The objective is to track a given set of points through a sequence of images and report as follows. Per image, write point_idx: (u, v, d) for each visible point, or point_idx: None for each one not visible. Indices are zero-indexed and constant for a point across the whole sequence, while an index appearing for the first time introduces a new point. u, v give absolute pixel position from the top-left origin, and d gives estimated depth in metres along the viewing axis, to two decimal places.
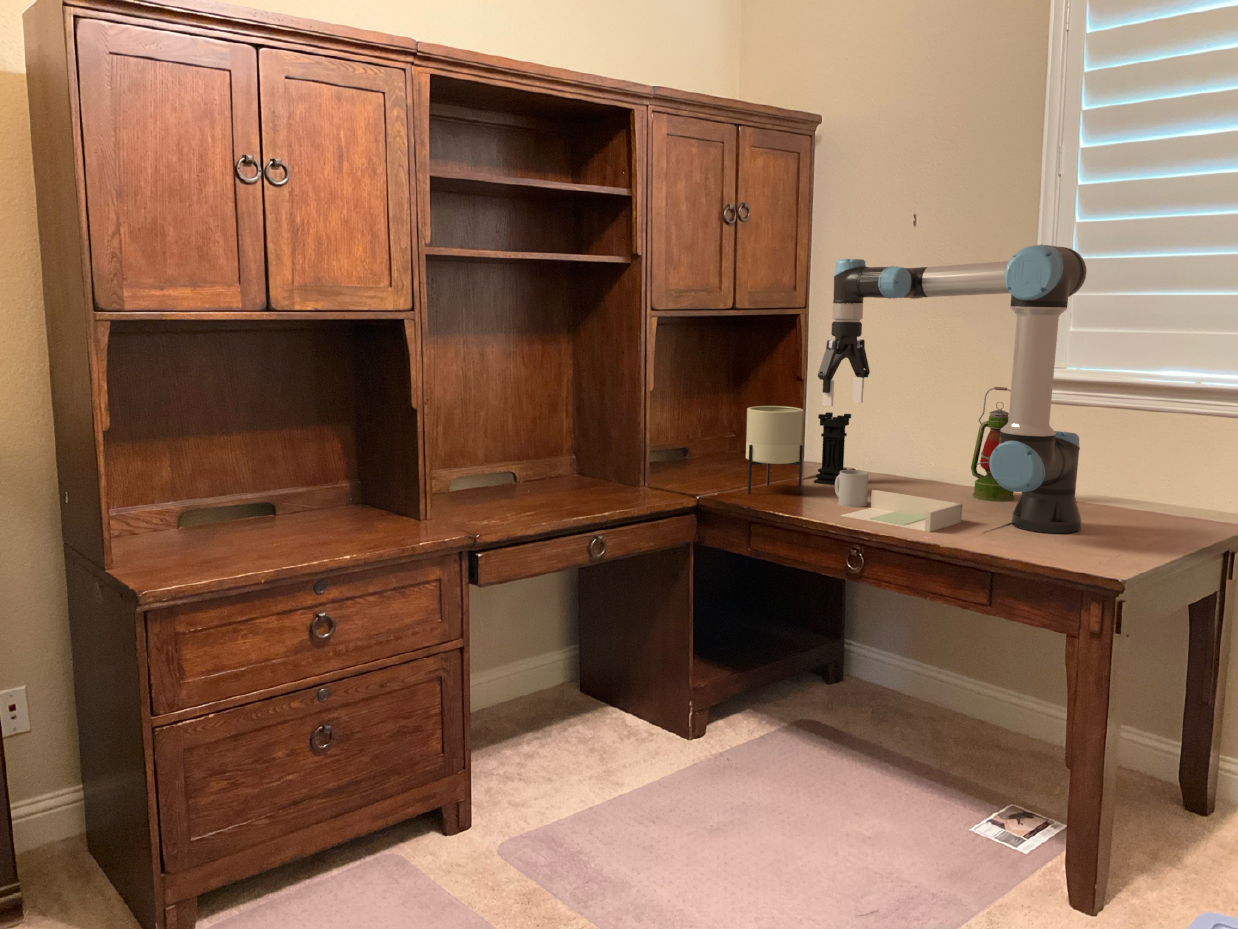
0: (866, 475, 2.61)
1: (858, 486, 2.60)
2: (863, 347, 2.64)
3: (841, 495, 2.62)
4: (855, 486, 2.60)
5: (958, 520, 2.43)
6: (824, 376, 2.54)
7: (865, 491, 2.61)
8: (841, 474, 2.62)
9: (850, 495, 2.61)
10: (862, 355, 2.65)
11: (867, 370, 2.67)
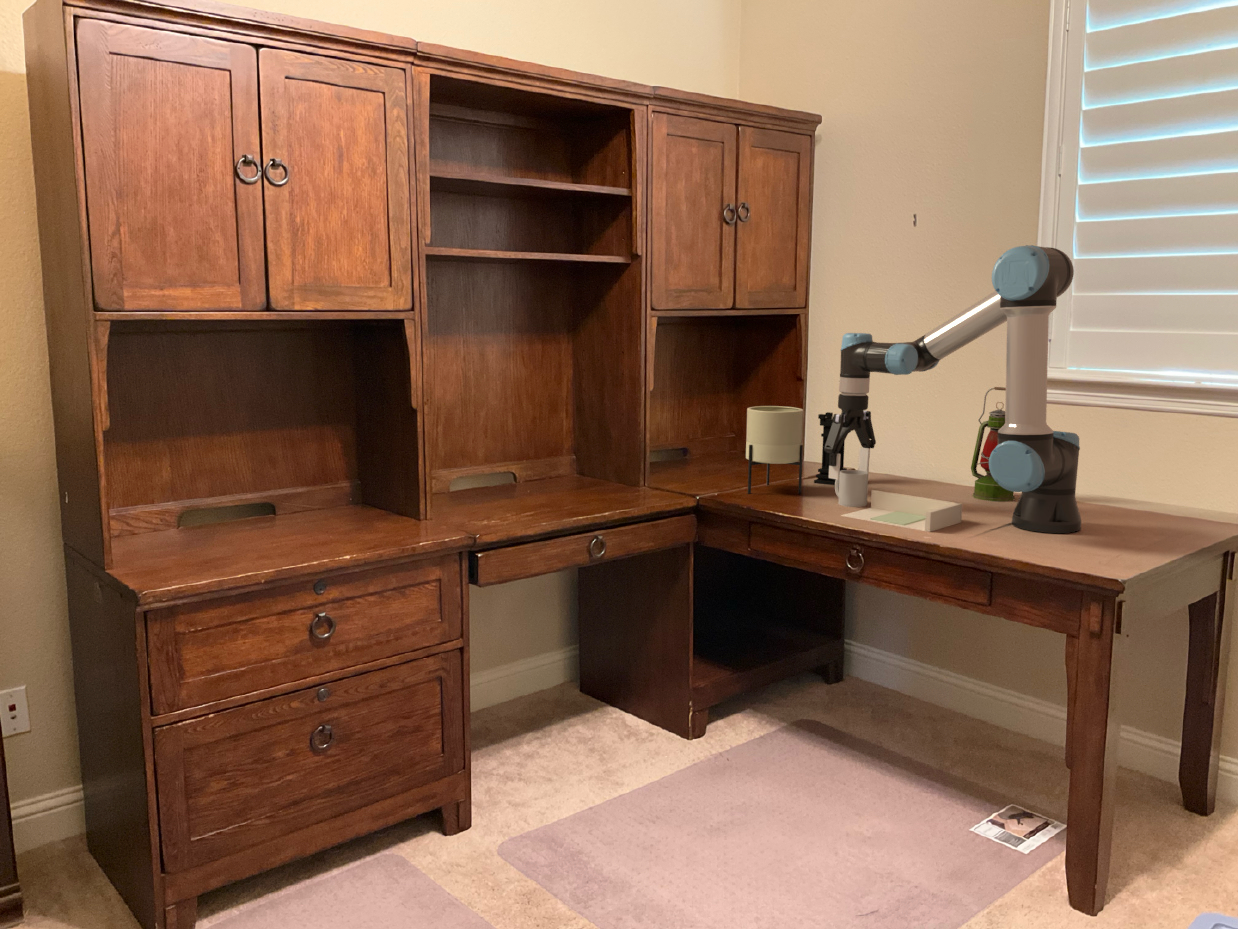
0: (866, 475, 2.61)
1: (858, 486, 2.60)
2: (869, 419, 2.66)
3: (841, 495, 2.62)
4: (855, 486, 2.60)
5: (958, 520, 2.43)
6: (830, 450, 2.56)
7: (865, 491, 2.61)
8: (841, 474, 2.62)
9: (850, 495, 2.61)
10: (868, 426, 2.66)
11: (873, 441, 2.69)
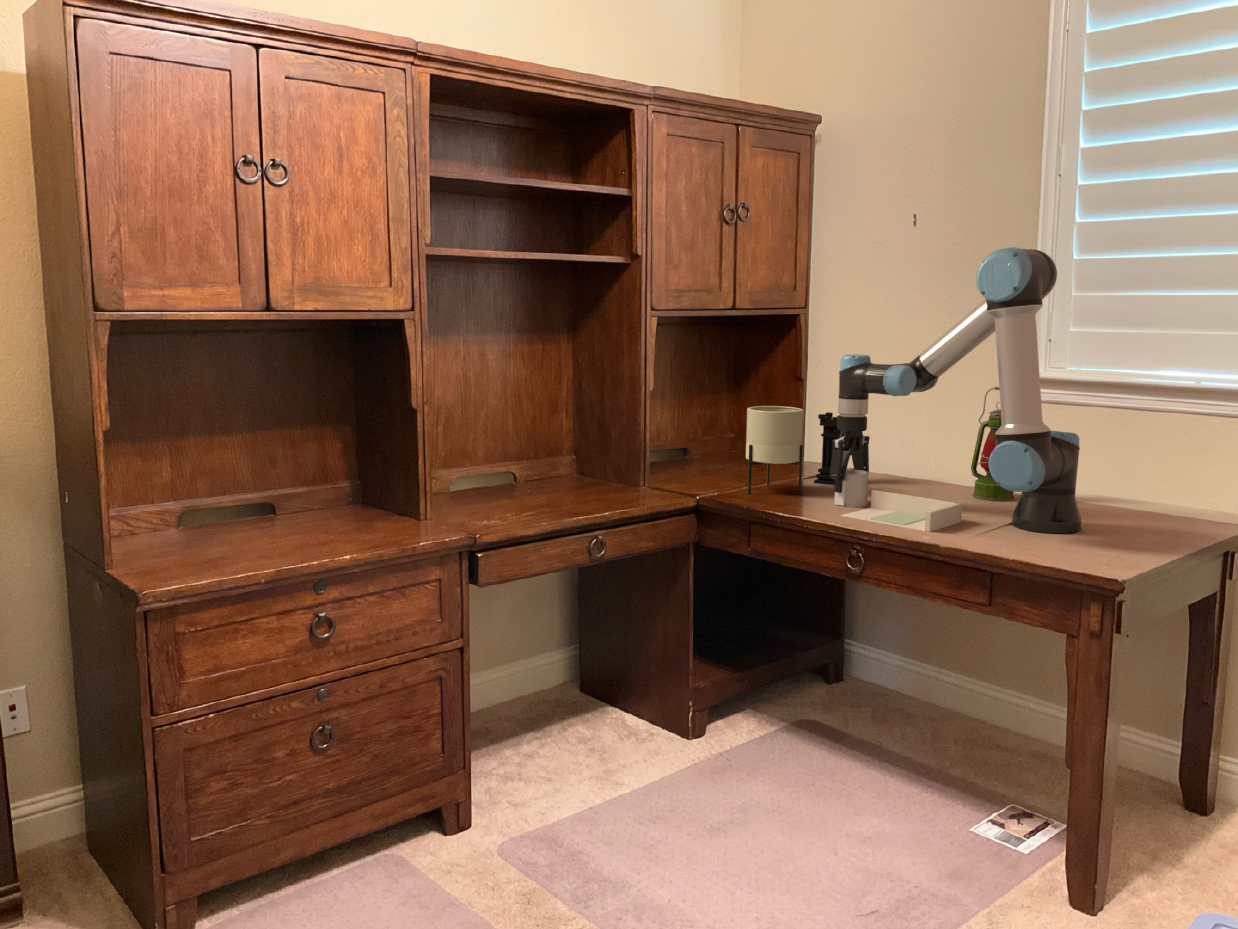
0: (866, 475, 2.61)
1: (858, 486, 2.60)
2: (867, 444, 2.66)
3: None
4: (855, 486, 2.60)
5: (958, 520, 2.43)
6: (836, 477, 2.59)
7: (865, 491, 2.61)
8: None
9: (850, 495, 2.61)
10: (864, 451, 2.66)
11: (867, 468, 2.68)
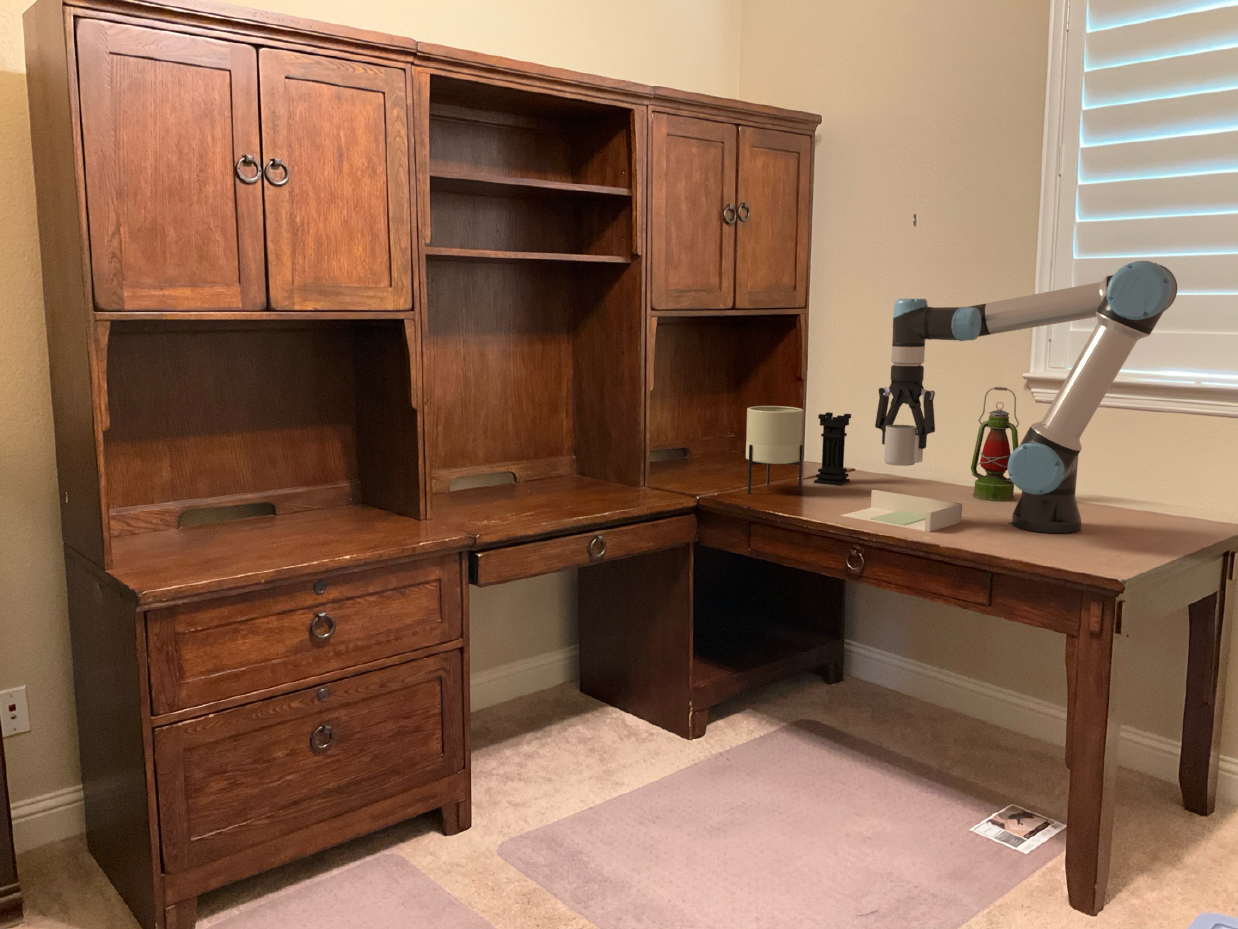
0: (894, 429, 2.40)
1: (886, 439, 2.43)
2: (925, 399, 2.38)
3: None
4: (885, 439, 2.44)
5: (958, 520, 2.43)
6: None
7: (893, 446, 2.41)
8: None
9: None
10: None
11: (926, 428, 2.38)
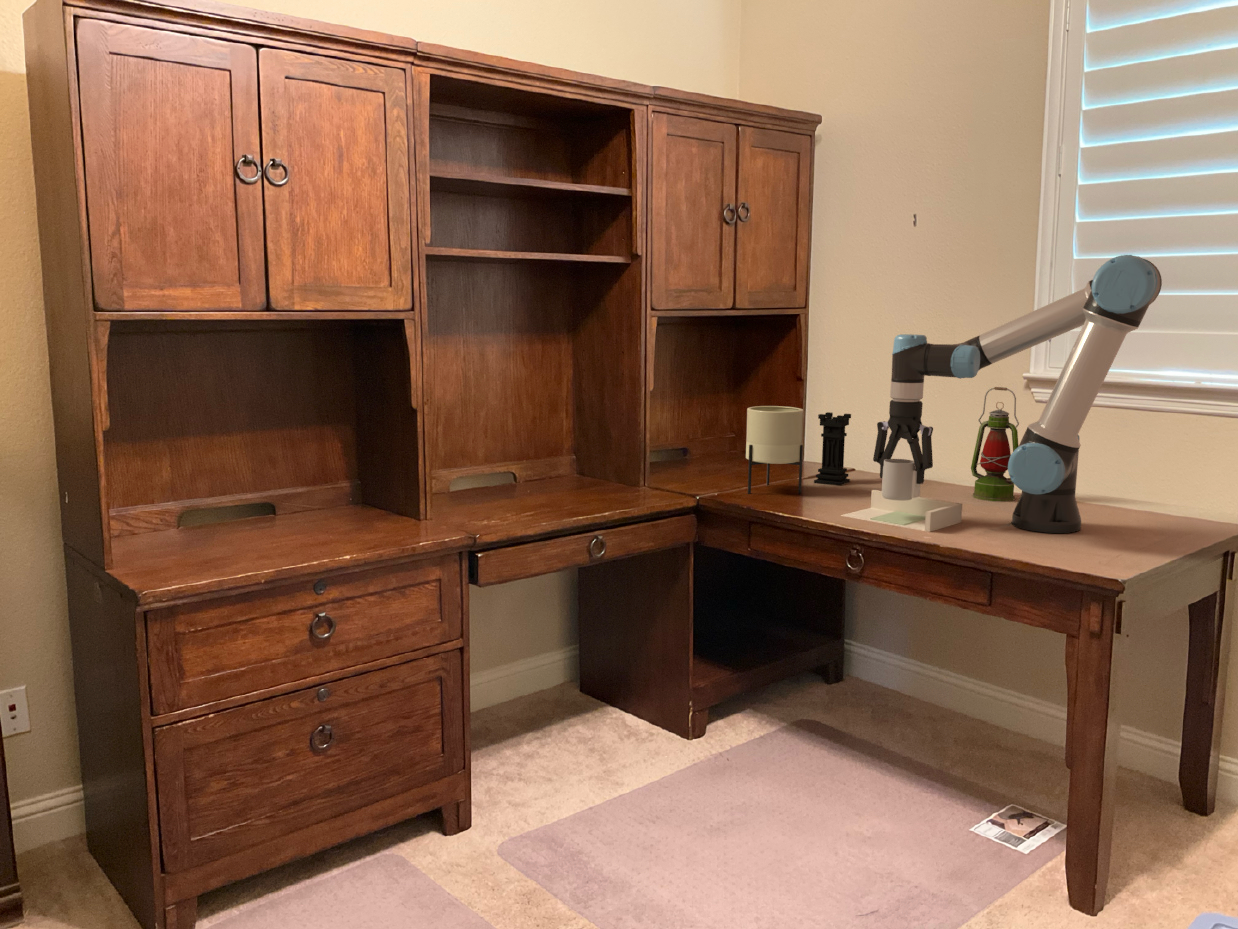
0: (892, 464, 2.41)
1: (884, 473, 2.44)
2: (924, 435, 2.39)
3: None
4: (883, 473, 2.45)
5: (958, 520, 2.43)
6: None
7: (890, 481, 2.42)
8: None
9: None
10: None
11: (924, 463, 2.40)
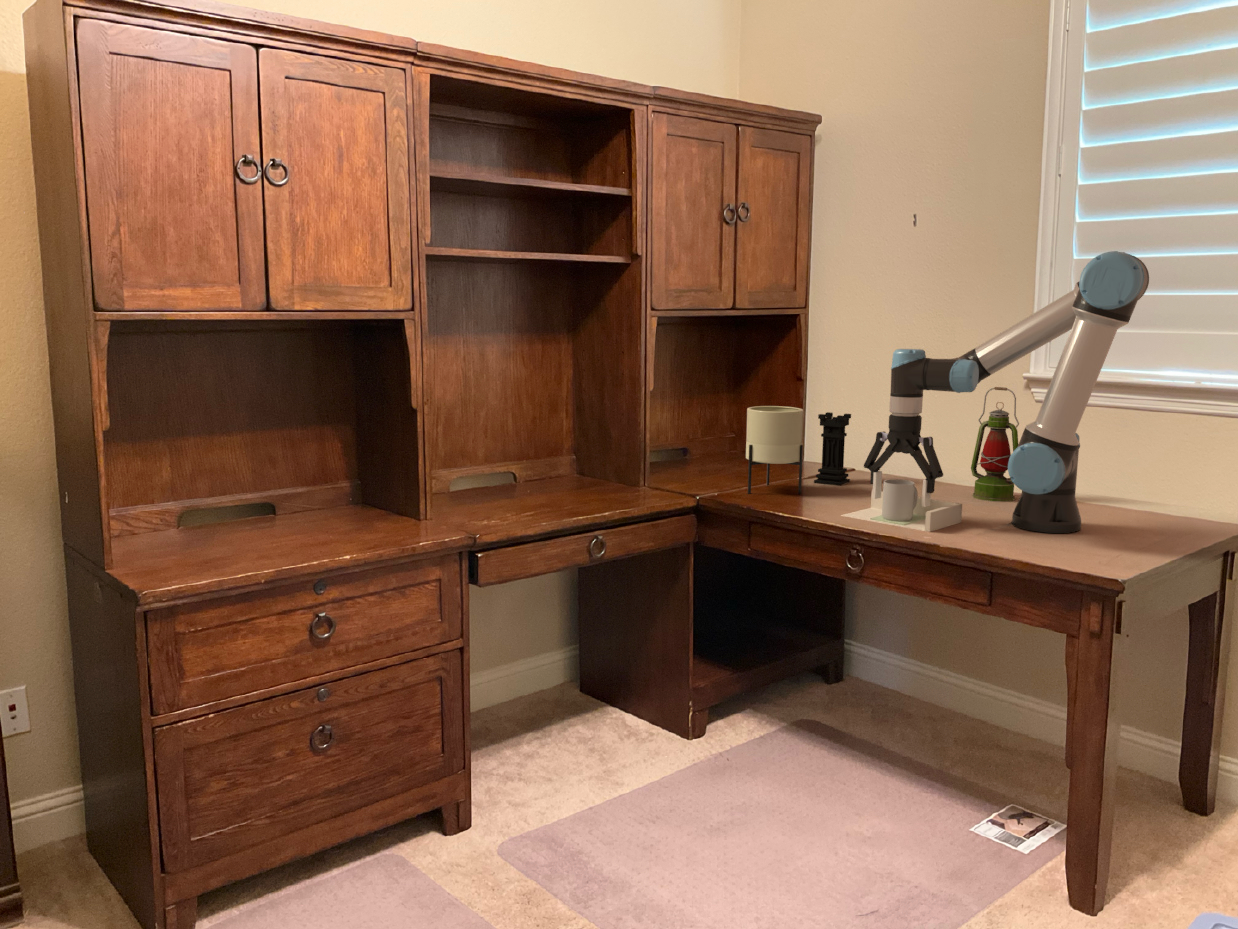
0: (892, 485, 2.42)
1: (884, 494, 2.45)
2: (925, 446, 2.39)
3: None
4: (883, 494, 2.45)
5: (958, 520, 2.43)
6: None
7: (890, 502, 2.43)
8: None
9: None
10: None
11: (934, 473, 2.38)
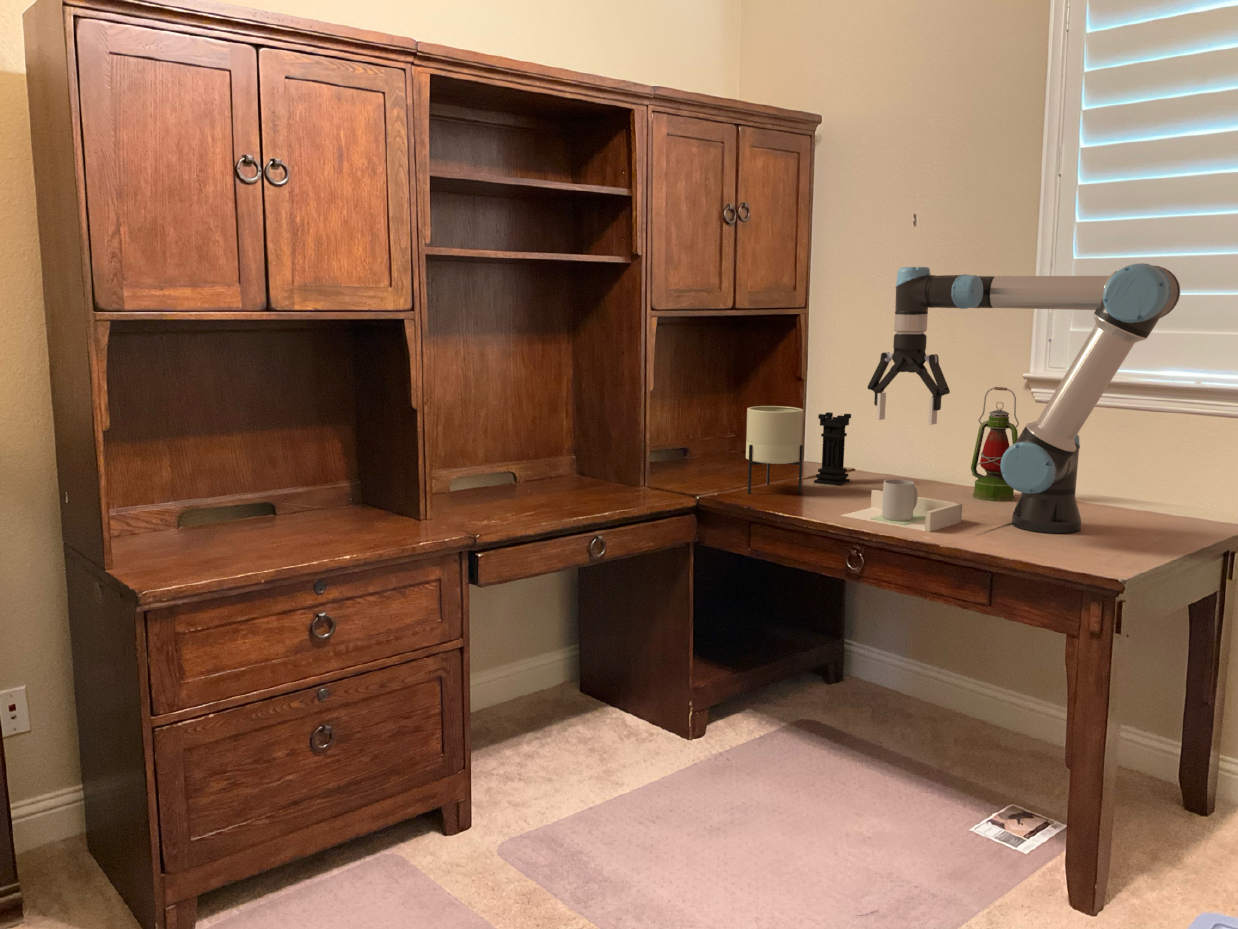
0: (892, 485, 2.42)
1: (884, 494, 2.45)
2: (931, 363, 2.39)
3: None
4: (883, 494, 2.45)
5: (958, 520, 2.43)
6: None
7: (890, 502, 2.43)
8: None
9: None
10: None
11: (940, 390, 2.38)
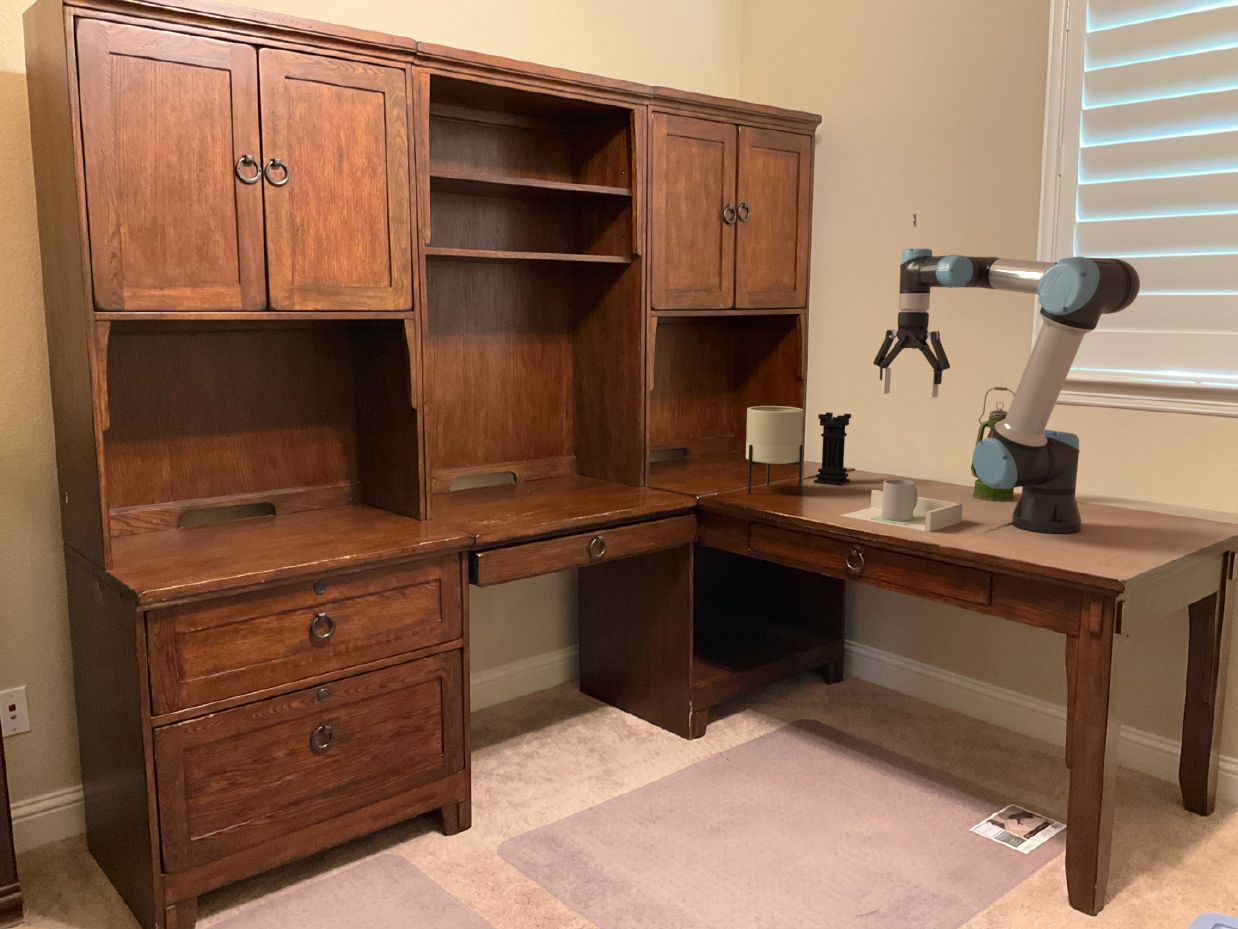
0: (892, 485, 2.42)
1: (884, 494, 2.45)
2: (933, 339, 2.53)
3: None
4: (883, 494, 2.45)
5: (958, 520, 2.43)
6: None
7: (890, 502, 2.43)
8: None
9: None
10: None
11: (941, 364, 2.52)
